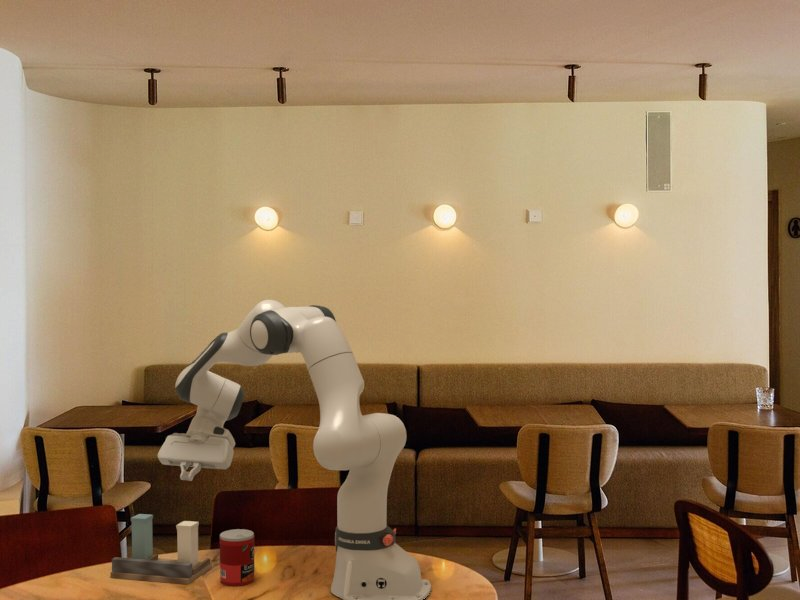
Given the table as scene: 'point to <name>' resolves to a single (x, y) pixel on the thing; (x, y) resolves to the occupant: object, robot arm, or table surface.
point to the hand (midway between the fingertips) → (185, 479)
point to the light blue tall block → (142, 536)
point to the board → (159, 578)
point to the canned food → (237, 557)
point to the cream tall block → (187, 542)
